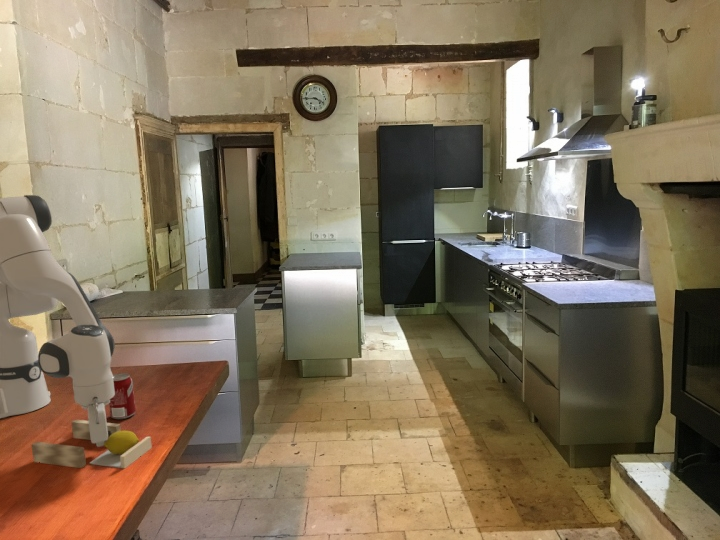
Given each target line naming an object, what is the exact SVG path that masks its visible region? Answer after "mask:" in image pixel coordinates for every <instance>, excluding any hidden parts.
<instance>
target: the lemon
mask: <svg viewBox="0 0 720 540" xmlns="http://www.w3.org/2000/svg"><path fill="white" fill-rule="evenodd" d="M139 442H140V439H139V438H138V436H137V435H136V434H135V433H134V432H133V431H130V430H121V431H118V432H115V433H113V434H112V435H110V436H109V438H108V440H107V441H106V442H105V443H104V446H103V447H105V448H106V449H107V450H109V451H110V452H111V453H113V454H124V453H125V452H126V451H128V450H129V449H131V448H132V447H133V446H135V445H136V444H137V443H139Z"/></svg>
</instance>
